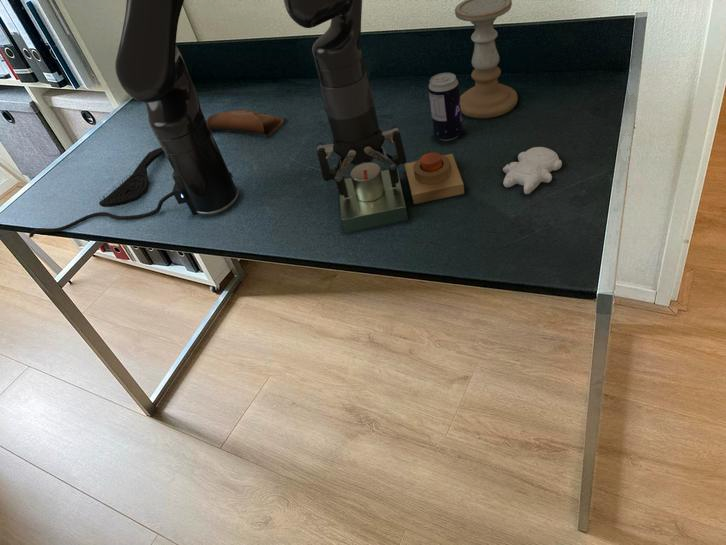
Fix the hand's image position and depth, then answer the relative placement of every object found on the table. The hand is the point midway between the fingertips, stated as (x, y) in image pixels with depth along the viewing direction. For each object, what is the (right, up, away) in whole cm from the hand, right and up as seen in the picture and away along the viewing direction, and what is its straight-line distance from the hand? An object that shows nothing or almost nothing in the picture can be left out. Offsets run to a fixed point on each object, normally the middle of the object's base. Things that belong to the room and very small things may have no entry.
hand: (369, 189), depth 93 cm
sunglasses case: (-29, +20, +35) cm, 50 cm away
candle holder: (+25, +21, +20) cm, 38 cm away
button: (+11, +4, +1) cm, 12 cm away
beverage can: (+16, +13, +14) cm, 25 cm away
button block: (+12, +2, +4) cm, 12 cm away
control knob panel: (+1, -3, +2) cm, 4 cm away
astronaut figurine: (+28, +3, 0) cm, 28 cm away
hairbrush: (-51, +6, +27) cm, 58 cm away
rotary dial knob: (0, 0, 0) cm, 1 cm away
